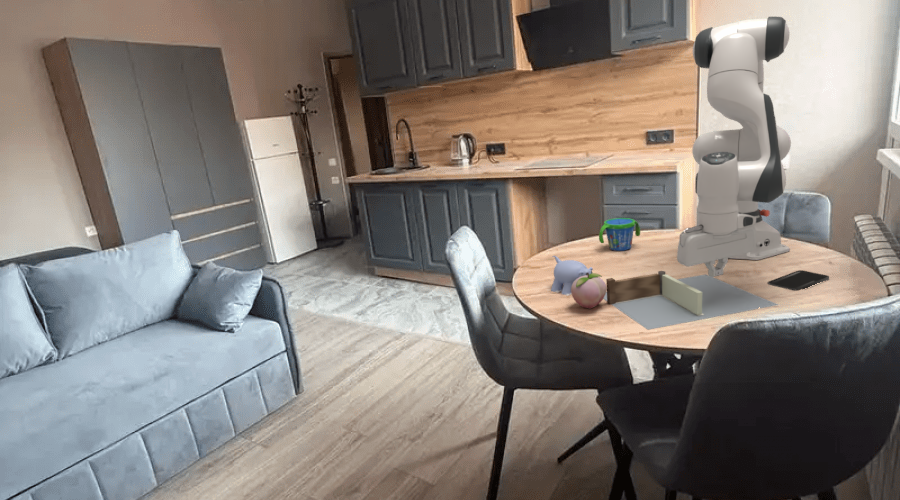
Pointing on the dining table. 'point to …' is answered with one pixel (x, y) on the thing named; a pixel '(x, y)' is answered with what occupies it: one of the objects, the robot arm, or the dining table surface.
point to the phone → (798, 280)
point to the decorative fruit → (588, 290)
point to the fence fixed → (634, 287)
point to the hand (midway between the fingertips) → (715, 275)
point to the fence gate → (682, 294)
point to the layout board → (667, 312)
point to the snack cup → (619, 233)
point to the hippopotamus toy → (567, 274)
